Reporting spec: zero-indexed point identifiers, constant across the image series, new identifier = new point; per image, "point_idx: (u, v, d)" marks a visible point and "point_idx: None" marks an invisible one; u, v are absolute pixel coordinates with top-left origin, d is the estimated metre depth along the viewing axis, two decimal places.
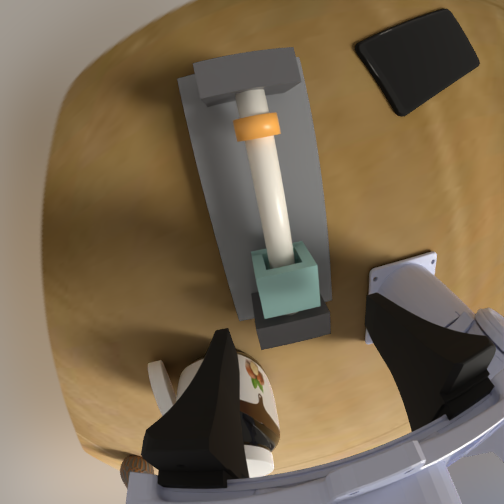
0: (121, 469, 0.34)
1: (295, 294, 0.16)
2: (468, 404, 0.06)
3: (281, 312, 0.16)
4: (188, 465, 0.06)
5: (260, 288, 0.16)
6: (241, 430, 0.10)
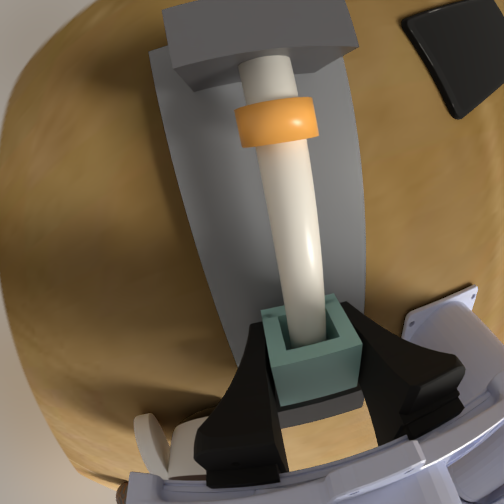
0: (117, 496, 0.28)
1: (325, 379, 0.10)
2: (431, 426, 0.06)
3: (304, 398, 0.11)
4: (243, 462, 0.06)
5: (277, 377, 0.10)
6: (279, 424, 0.10)
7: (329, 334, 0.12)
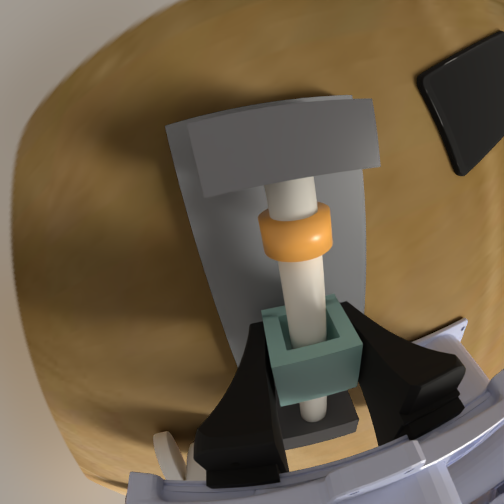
0: None
1: (326, 379, 0.10)
2: (432, 426, 0.06)
3: (304, 399, 0.11)
4: (243, 462, 0.06)
5: (277, 377, 0.10)
6: (279, 424, 0.10)
7: (329, 334, 0.12)
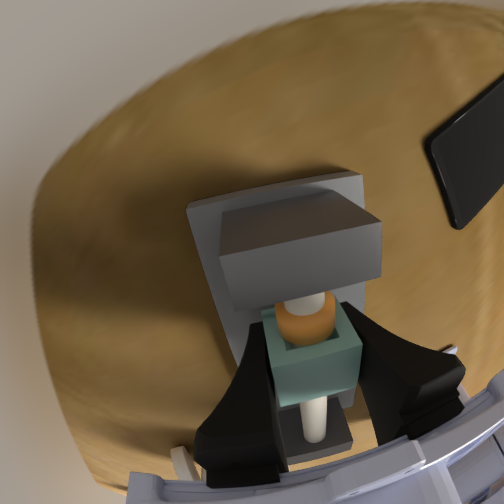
0: None
1: (325, 379, 0.10)
2: (431, 426, 0.06)
3: (304, 399, 0.11)
4: (243, 462, 0.06)
5: (277, 377, 0.10)
6: (279, 424, 0.10)
7: None
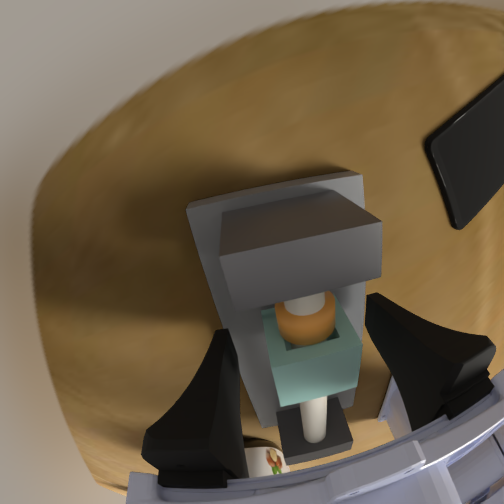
0: None
1: (325, 379, 0.10)
2: (468, 404, 0.06)
3: (304, 399, 0.11)
4: (188, 465, 0.06)
5: (277, 377, 0.10)
6: (241, 430, 0.10)
7: None
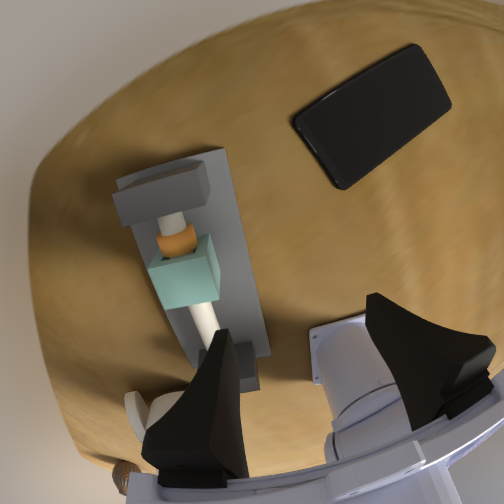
0: (113, 473, 0.36)
1: (188, 286, 0.16)
2: (468, 404, 0.06)
3: (179, 304, 0.16)
4: (188, 465, 0.06)
5: (153, 278, 0.15)
6: (241, 430, 0.10)
7: None
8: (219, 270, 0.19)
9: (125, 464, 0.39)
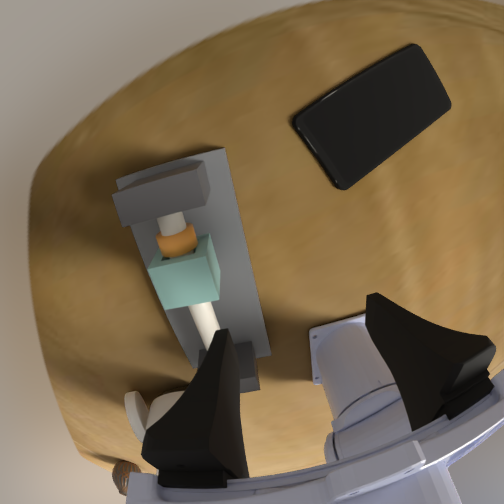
0: (113, 473, 0.36)
1: (188, 286, 0.16)
2: (468, 404, 0.06)
3: (179, 304, 0.16)
4: (188, 465, 0.06)
5: (153, 278, 0.15)
6: (241, 430, 0.10)
7: None
8: (219, 270, 0.19)
9: (125, 464, 0.39)
